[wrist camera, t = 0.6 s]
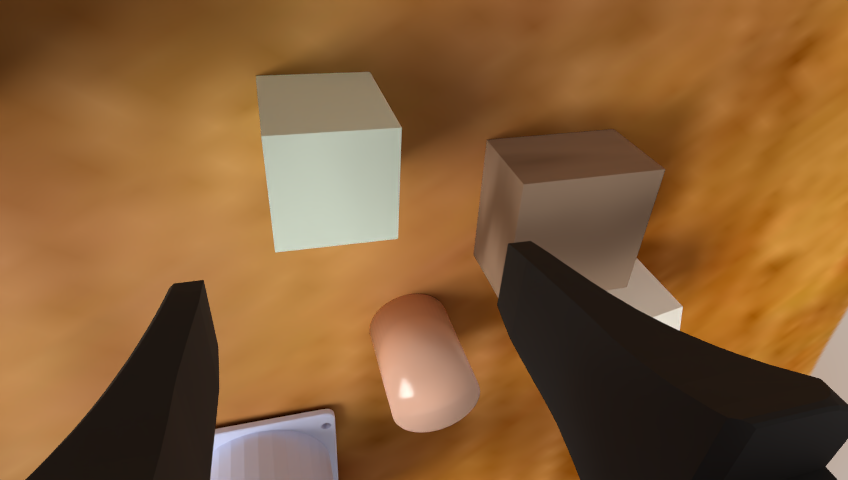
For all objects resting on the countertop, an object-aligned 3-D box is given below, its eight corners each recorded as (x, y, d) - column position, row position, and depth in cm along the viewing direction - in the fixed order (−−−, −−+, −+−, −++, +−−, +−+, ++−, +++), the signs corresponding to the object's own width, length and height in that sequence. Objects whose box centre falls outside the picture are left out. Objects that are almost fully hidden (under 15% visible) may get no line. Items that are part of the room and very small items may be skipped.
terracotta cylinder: (443, 346, 30) (474, 422, 26) (369, 358, 29) (391, 439, 25) (449, 288, 28) (484, 363, 24) (369, 299, 27) (393, 379, 23)
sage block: (369, 168, 23) (398, 238, 19) (267, 176, 22) (275, 252, 18) (369, 71, 20) (401, 127, 17) (255, 75, 19) (261, 136, 16)
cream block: (621, 296, 32) (675, 361, 28) (555, 320, 31) (601, 389, 27) (622, 243, 29) (682, 306, 25) (552, 268, 29) (601, 335, 25)
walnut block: (583, 237, 28) (626, 287, 25) (472, 252, 27) (503, 307, 24) (611, 127, 25) (665, 169, 22) (485, 137, 24) (523, 184, 20)
